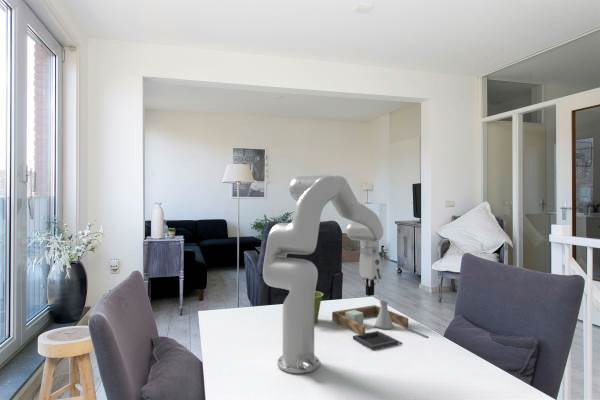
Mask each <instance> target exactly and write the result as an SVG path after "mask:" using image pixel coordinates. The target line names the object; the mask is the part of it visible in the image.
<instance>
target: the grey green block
mask: <svg viewBox="0 0 600 400" xmlns="http://www.w3.org/2000/svg"><path fill="white" fill-rule="evenodd" d="M345 317H347V318H349V319H351V320H353V321H355V322H357V323H359V324H361V325H363V326H364V317H363V313H362V312H359V311H356V310H352V311H348V312H345Z"/></svg>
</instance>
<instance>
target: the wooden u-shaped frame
mask: <svg viewBox="0 0 600 400" xmlns="http://www.w3.org/2000/svg"><path fill="white" fill-rule="evenodd" d="M352 310H356V311H359V312H362V313H363V318H364V317H369V316H370V317H371V316H378V314H379V311H380V306H378V305H376V304H374V305H368V306H367V305H366V306H362V307H355V308H347V309H342V310H335V311H332V312H331V319H332V320H331V321H333V322H334V323H336V324H338V325H340V326H342V327H344V328H346V329H347V330H349V331H351V332H353V333H355V334H356V335H360V334H365V333H366V326H365V325H364V324H363V325H361V324H359V323H357V322H355V321H353V320H351V319H349V318H347V317H345V312H348V311H352ZM388 312H389V315H390V318H391V321H392V323H395V324H396V325H398V326H400V327H403V328H405V327H408V328H409V318H408V317H406V316H404V315H401V314H399V313H396V312H394V311H391V310H389V309H388Z"/></svg>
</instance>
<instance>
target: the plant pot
mask: <svg viewBox="0 0 600 400" xmlns="http://www.w3.org/2000/svg"><path fill="white" fill-rule="evenodd" d="M323 296H324V293H323V292H321V291H317V290H315V300H314V324H316V323H317V322H318V321H319V319H318V318H319V312H320V308H321V302H322V299H323Z"/></svg>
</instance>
